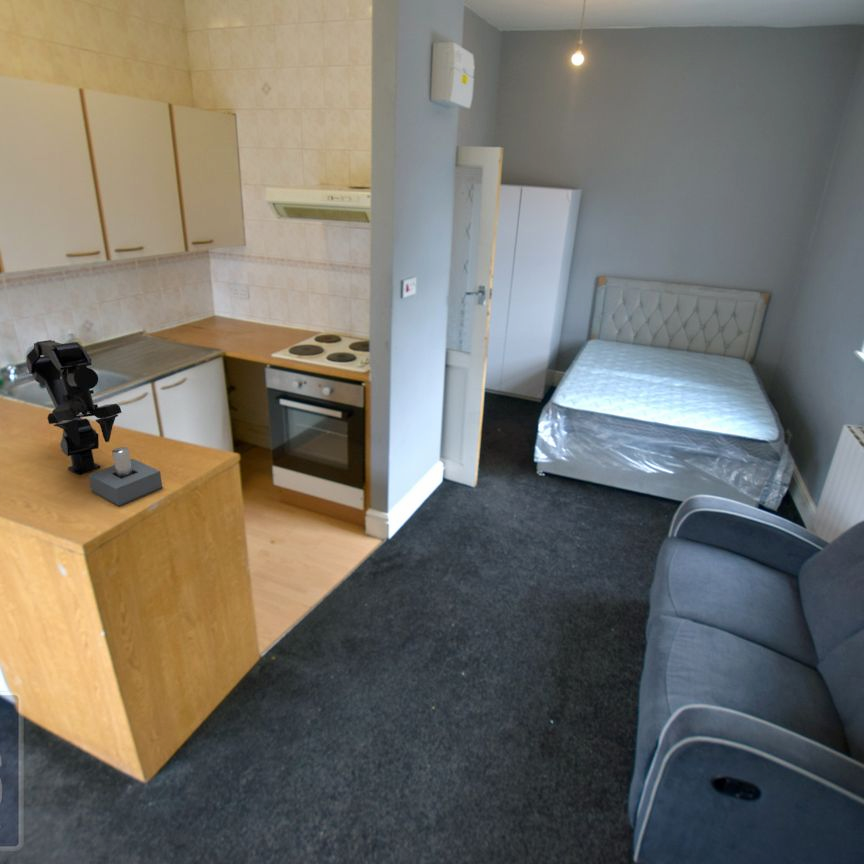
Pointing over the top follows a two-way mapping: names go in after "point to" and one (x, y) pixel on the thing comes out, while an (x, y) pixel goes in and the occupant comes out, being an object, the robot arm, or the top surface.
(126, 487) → the slate socket block
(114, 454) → the aluminium peg
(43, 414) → the top surface
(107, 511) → the top surface
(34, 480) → the top surface
